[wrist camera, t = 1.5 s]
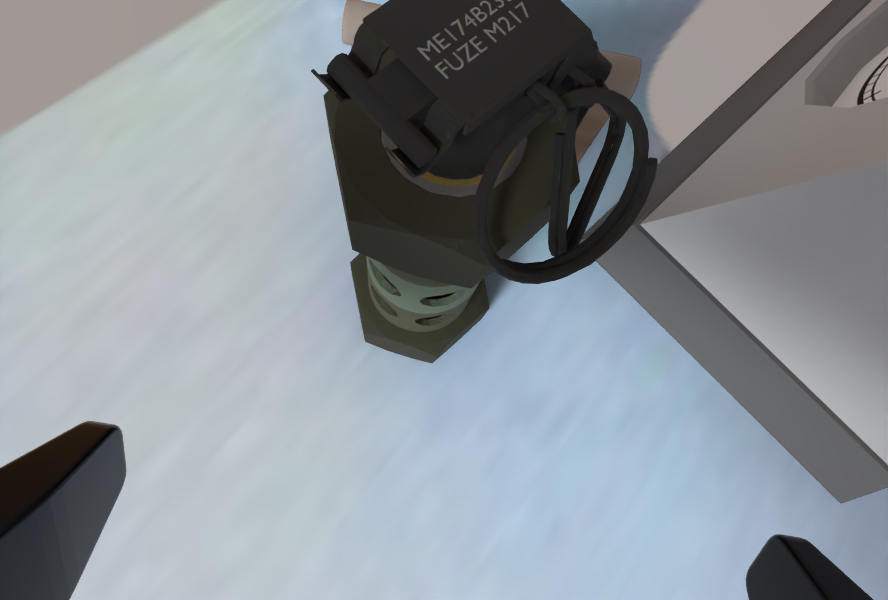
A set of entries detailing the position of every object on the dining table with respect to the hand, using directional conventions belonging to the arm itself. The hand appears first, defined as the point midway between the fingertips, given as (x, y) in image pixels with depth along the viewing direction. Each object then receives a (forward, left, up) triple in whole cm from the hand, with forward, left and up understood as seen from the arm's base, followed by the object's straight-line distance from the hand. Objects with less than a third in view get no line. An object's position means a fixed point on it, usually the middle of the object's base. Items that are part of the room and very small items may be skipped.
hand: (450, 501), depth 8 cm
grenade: (+6, +3, -13) cm, 14 cm away
